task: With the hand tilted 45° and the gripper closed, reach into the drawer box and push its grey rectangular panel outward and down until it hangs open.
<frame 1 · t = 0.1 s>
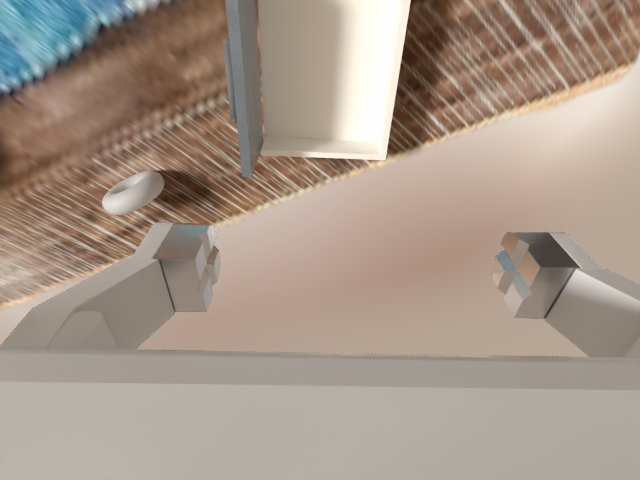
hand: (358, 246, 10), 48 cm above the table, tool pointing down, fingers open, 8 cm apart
grey rectangular panel: (243, 74, 45), point 8 cm above the table, hinge at 0.0°
drawer box: (326, 64, 51), on the table
donut: (146, 177, 62), on the table
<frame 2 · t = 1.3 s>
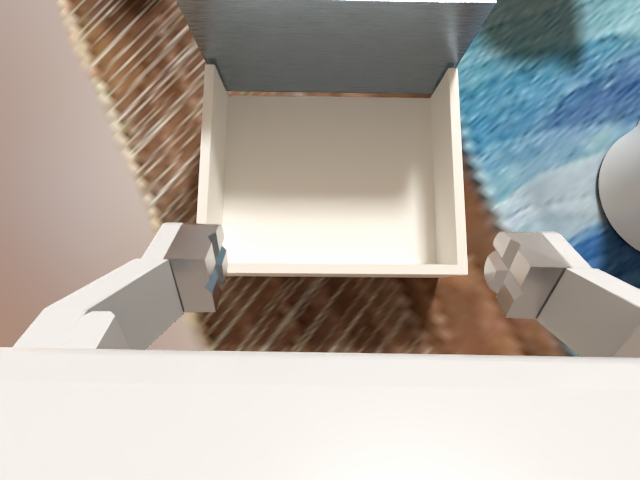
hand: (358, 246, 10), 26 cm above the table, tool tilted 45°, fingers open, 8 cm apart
grey rectangular panel: (332, 43, 31), point 8 cm above the table, hinge at 0.0°
drawer box: (328, 189, 37), on the table
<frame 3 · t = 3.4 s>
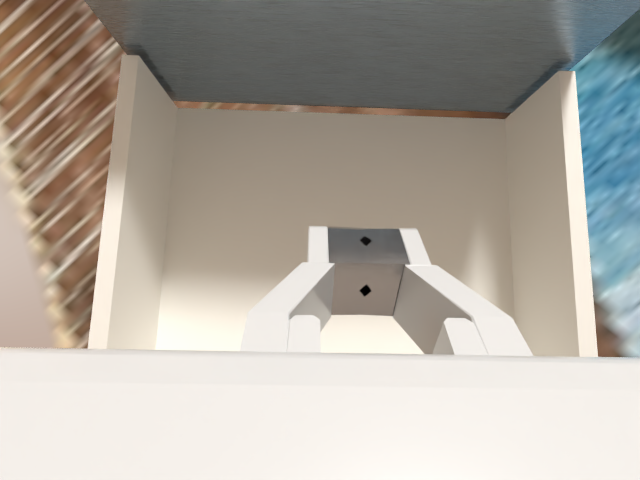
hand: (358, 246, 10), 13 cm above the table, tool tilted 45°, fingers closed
grey rectangular panel: (353, 20, 17), point 8 cm above the table, hinge at 0.0°
drawer box: (337, 260, 23), on the table
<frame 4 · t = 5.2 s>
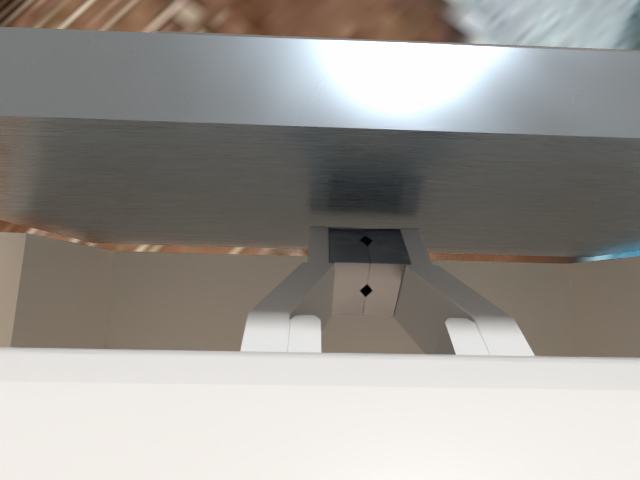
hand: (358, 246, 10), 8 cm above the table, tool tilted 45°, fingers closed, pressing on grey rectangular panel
grey rectangular panel: (363, 186, 10), point 8 cm above the table, hinge at 0.9°, touching gripper
drawer box: (337, 452, 17), on the table
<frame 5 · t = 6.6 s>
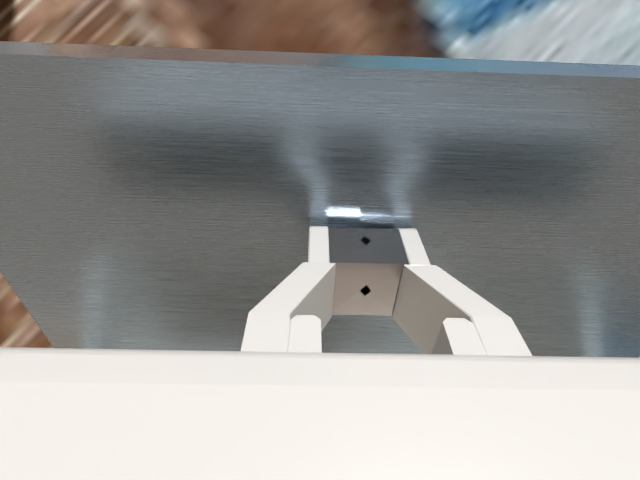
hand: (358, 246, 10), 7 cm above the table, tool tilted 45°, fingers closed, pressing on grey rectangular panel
grey rectangular panel: (357, 250, 12), point 6 cm above the table, hinge at 44.0°, touching gripper
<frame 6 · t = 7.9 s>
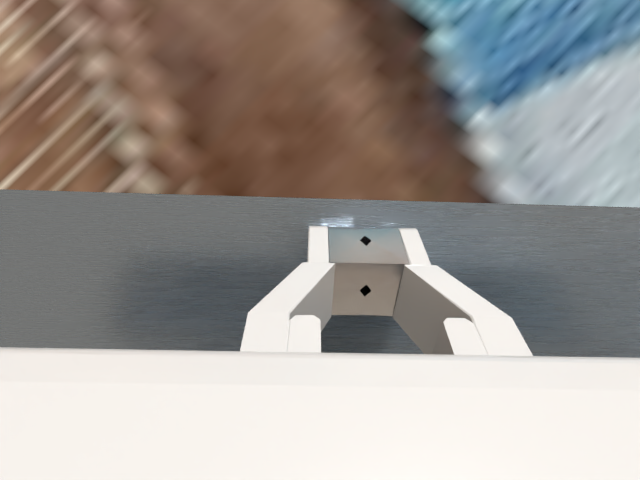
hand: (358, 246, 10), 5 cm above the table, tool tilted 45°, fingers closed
grey rectangular panel: (352, 371, 12), point 2 cm above the table, hinge at 76.6°, touching gripper
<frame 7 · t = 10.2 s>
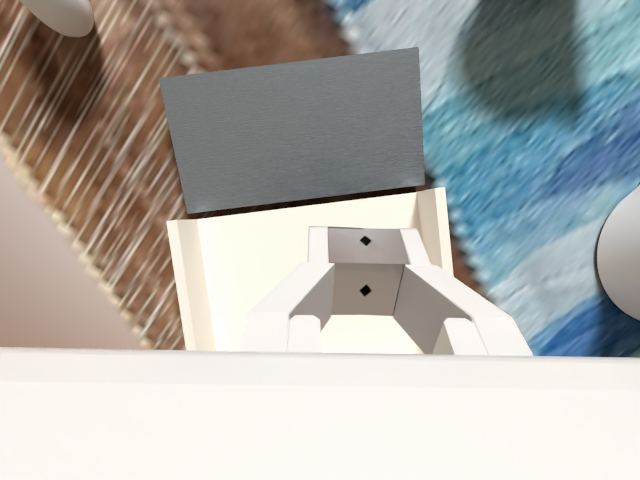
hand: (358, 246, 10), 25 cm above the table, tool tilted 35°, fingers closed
grey rectangular panel: (298, 134, 33), point 2 cm above the table, hinge at 79.9°
drawer box: (318, 296, 36), on the table
donut: (78, 7, 34), on the table
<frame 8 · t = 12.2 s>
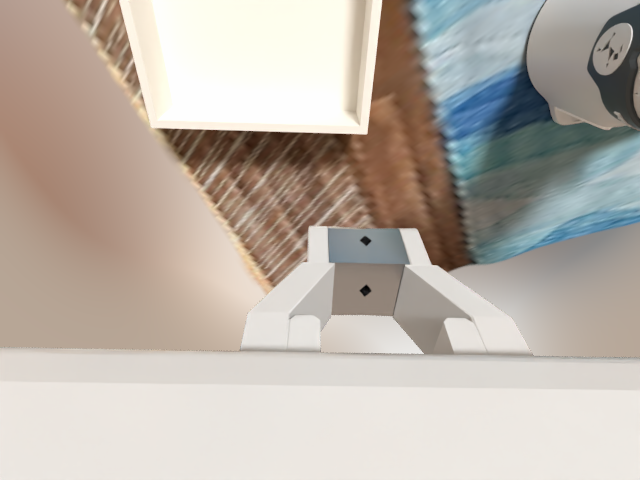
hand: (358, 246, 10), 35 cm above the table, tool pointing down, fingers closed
drawer box: (262, 21, 37), on the table
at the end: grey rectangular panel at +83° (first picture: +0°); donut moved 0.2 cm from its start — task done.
